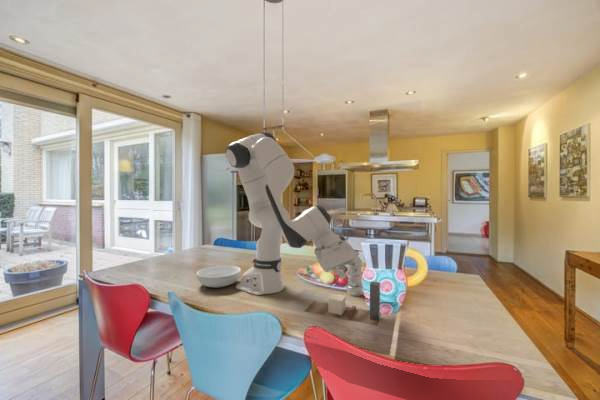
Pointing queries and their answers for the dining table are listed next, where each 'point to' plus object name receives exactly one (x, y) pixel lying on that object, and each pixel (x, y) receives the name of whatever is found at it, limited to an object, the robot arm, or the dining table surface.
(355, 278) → the plastic bottle
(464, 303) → the dining table surface
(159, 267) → the dining table surface
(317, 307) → the walnut strip
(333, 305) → the cream cube
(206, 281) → the serving bowl
